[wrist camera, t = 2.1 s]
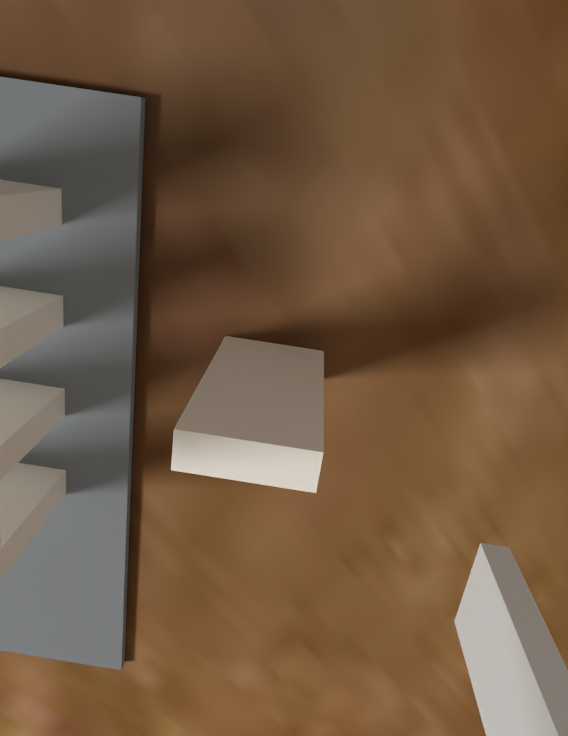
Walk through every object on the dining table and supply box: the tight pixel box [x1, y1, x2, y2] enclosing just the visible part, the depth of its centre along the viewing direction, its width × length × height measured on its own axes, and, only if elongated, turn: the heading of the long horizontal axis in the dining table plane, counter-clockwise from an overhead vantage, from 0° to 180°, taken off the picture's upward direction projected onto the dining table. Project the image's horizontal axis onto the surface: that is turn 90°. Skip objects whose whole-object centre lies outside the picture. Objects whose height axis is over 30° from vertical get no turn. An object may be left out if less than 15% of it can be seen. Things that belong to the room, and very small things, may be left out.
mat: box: [0, 77, 145, 670], centre depth 30 cm, size 34×12×1 cm, turn 172°
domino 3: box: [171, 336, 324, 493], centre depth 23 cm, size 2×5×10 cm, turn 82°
